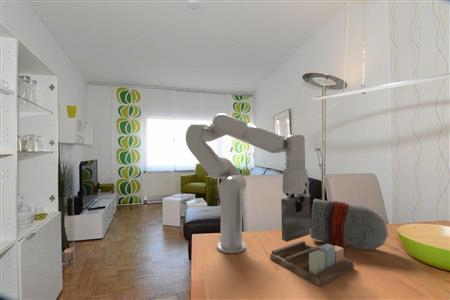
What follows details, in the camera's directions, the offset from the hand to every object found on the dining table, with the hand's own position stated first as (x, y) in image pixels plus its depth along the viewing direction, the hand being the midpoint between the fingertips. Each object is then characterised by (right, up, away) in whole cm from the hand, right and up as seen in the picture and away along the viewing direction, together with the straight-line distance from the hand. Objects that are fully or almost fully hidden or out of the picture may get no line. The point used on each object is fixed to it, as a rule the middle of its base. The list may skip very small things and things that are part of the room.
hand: (296, 210), depth 92 cm
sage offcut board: (+3, -19, -15) cm, 24 cm away
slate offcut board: (+7, -19, -12) cm, 23 cm away
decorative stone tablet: (+26, -19, +10) cm, 33 cm away
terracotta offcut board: (+12, -19, -9) cm, 24 cm away
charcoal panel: (0, -11, 0) cm, 11 cm away
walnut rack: (+4, -19, -6) cm, 20 cm away
